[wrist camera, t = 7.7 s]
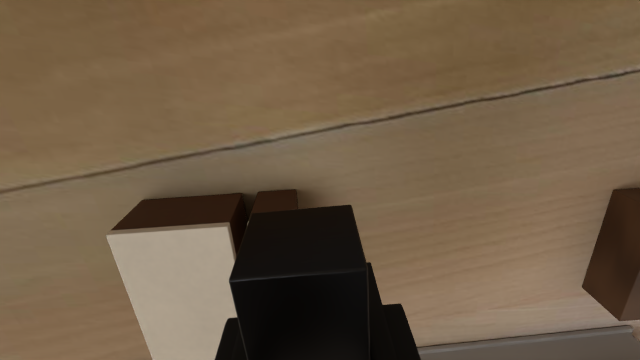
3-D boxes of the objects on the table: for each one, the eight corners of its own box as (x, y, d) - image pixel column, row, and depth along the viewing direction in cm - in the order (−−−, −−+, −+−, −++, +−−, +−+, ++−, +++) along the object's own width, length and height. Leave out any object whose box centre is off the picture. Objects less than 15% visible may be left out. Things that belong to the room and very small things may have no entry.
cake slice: (257, 191, 25) (246, 225, 21) (296, 188, 25) (293, 221, 21) (275, 308, 30) (269, 357, 26) (308, 306, 30) (307, 354, 26)
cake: (142, 199, 25) (105, 235, 21) (242, 192, 25) (227, 226, 21) (178, 315, 30) (154, 365, 25) (262, 310, 30) (254, 358, 26)
